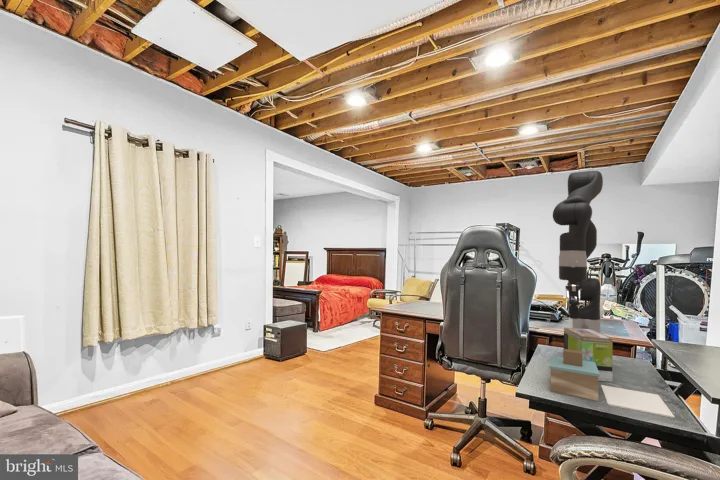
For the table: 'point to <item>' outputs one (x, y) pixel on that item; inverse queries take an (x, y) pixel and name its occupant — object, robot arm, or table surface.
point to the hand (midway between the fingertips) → (573, 316)
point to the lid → (573, 363)
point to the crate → (574, 384)
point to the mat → (636, 401)
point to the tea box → (592, 349)
